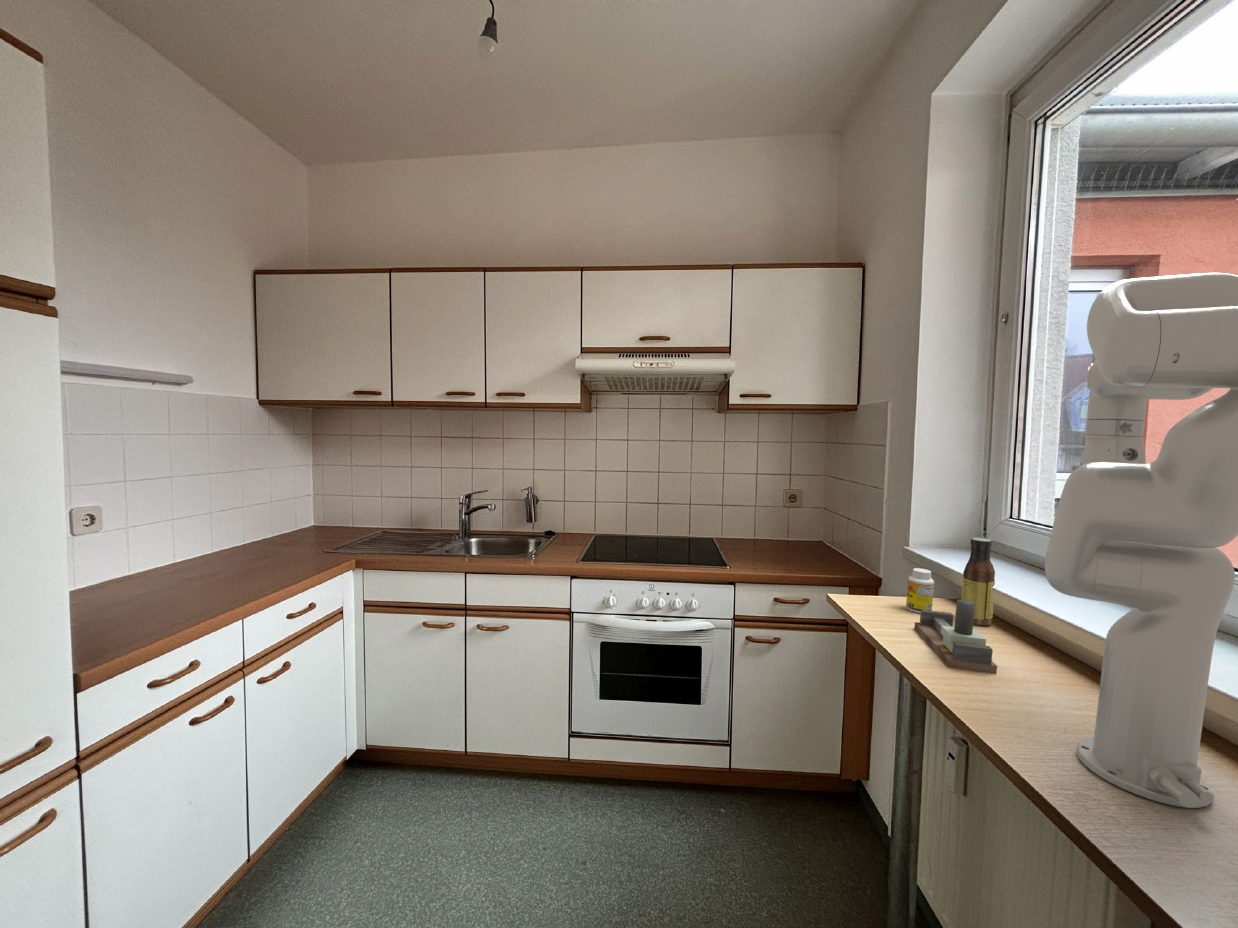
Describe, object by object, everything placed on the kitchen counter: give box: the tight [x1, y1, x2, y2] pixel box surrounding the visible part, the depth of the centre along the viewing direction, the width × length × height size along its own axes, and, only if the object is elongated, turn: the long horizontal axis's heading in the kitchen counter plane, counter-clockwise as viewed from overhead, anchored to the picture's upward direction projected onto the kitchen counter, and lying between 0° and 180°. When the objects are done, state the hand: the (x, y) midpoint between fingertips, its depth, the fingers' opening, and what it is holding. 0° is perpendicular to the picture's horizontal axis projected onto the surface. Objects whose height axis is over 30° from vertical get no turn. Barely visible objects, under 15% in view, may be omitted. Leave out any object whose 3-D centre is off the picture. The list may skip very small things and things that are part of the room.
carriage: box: [941, 599, 987, 652], centre depth 103 cm, size 5×6×10 cm
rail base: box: [914, 610, 998, 674], centre depth 108 cm, size 20×8×4 cm, turn 167°
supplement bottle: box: [905, 567, 935, 614], centre depth 131 cm, size 6×6×10 cm
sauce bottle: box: [961, 537, 996, 627], centre depth 125 cm, size 6×6×20 cm
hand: (1102, 527), depth 94 cm, fingers open, 9 cm apart
